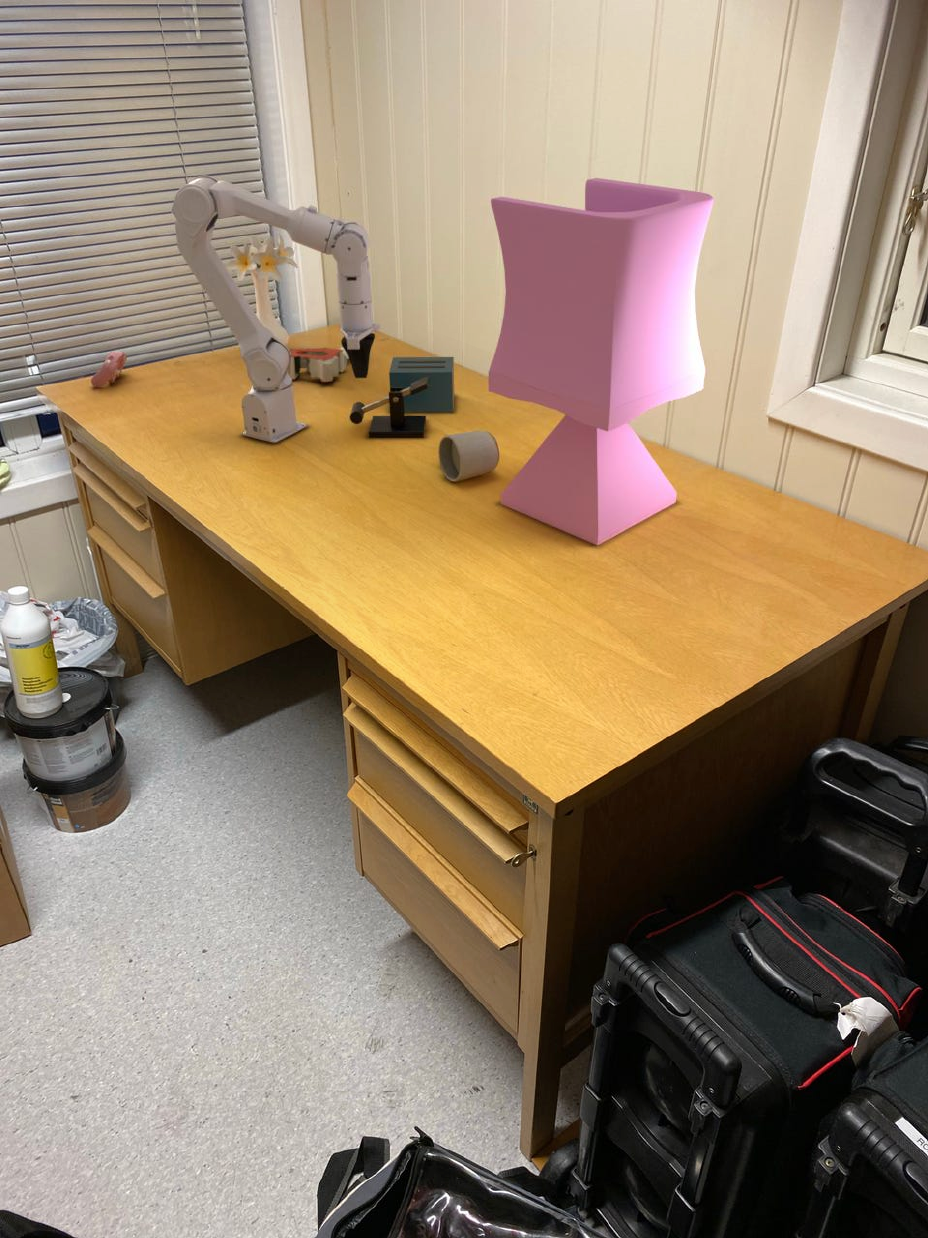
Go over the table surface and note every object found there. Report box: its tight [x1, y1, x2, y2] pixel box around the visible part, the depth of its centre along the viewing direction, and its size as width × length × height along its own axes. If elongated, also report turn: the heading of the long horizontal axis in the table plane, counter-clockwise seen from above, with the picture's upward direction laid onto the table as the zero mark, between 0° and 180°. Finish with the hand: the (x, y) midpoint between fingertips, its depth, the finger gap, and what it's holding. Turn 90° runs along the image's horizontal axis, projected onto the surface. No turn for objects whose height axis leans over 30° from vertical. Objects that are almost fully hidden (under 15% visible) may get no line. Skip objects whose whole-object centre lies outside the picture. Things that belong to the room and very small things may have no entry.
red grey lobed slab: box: [287, 345, 350, 384], centre depth 203 cm, size 18×5×20 cm
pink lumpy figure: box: [90, 349, 128, 388], centre depth 200 cm, size 10×5×7 cm, turn 179°
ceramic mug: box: [437, 430, 500, 483], centre depth 159 cm, size 11×8×8 cm
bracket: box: [368, 386, 427, 439], centre depth 175 cm, size 10×8×8 cm
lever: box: [349, 376, 430, 425], centre depth 174 cm, size 16×5×2 cm, turn 88°
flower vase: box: [224, 234, 299, 347], centre depth 207 cm, size 13×18×25 cm
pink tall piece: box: [488, 177, 715, 546], centre depth 138 cm, size 22×22×45 cm
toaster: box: [388, 356, 455, 414], centre depth 185 cm, size 12×9×8 cm
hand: (361, 376), depth 171 cm, fingers closed
